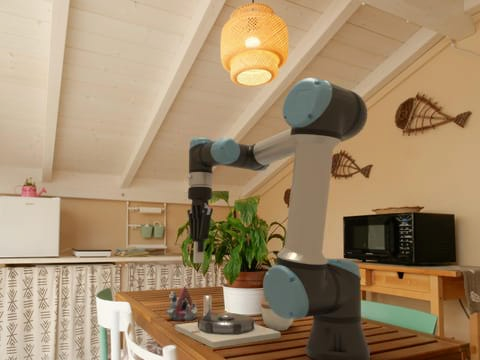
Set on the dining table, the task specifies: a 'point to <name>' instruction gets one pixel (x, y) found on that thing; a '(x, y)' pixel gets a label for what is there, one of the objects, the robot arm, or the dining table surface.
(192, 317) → the grey maroon spiky lump
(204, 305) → the notched disc with hub
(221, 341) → the base board
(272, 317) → the lidded jar
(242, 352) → the dining table surface
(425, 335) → the dining table surface
